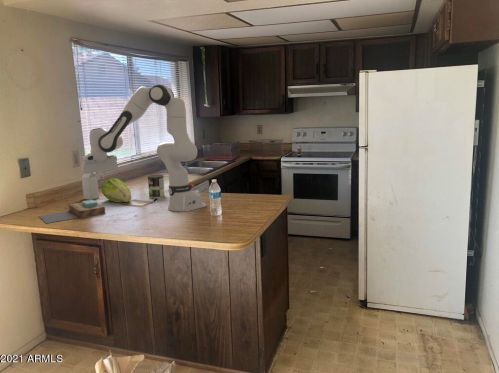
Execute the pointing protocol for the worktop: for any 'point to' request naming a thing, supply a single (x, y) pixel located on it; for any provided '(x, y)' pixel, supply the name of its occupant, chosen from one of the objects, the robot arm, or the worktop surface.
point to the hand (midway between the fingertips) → (101, 179)
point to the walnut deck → (86, 210)
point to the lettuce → (116, 190)
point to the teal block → (89, 203)
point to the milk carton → (90, 186)
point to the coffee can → (156, 186)
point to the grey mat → (57, 217)
